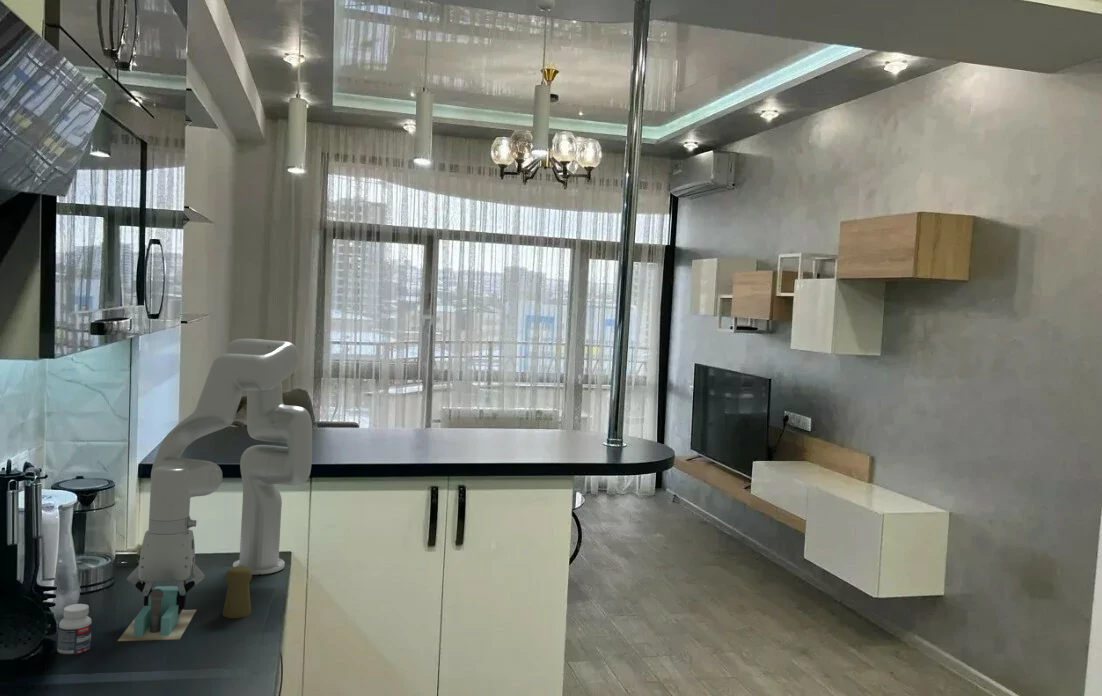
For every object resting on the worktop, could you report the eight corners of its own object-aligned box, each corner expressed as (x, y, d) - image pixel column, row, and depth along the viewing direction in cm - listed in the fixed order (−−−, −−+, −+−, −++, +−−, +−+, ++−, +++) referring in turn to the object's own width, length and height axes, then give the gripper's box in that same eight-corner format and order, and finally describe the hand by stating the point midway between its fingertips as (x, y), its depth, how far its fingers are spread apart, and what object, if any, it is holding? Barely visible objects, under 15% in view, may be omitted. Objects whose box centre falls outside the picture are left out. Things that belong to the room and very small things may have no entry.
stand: (140, 616, 167) (142, 571, 167) (196, 615, 169) (198, 570, 169) (117, 647, 151) (119, 597, 151) (179, 645, 154) (181, 596, 154)
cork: (241, 625, 165) (243, 573, 165) (215, 621, 166) (218, 569, 166) (257, 615, 171) (260, 565, 171) (232, 612, 172) (235, 562, 172)
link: (151, 612, 166) (152, 586, 166) (184, 611, 168) (185, 585, 168) (133, 636, 154) (135, 608, 154) (169, 635, 155) (170, 607, 155)
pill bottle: (78, 661, 144) (80, 613, 144) (50, 659, 144) (52, 611, 144) (96, 650, 149) (98, 603, 149) (69, 648, 150) (71, 601, 149)
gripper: (216, 521, 169) (211, 605, 170) (129, 521, 165) (124, 607, 166) (209, 530, 162) (204, 618, 162) (118, 530, 158) (113, 620, 158)
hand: (164, 611), depth 164 cm, fingers closed on link, 5 cm apart
